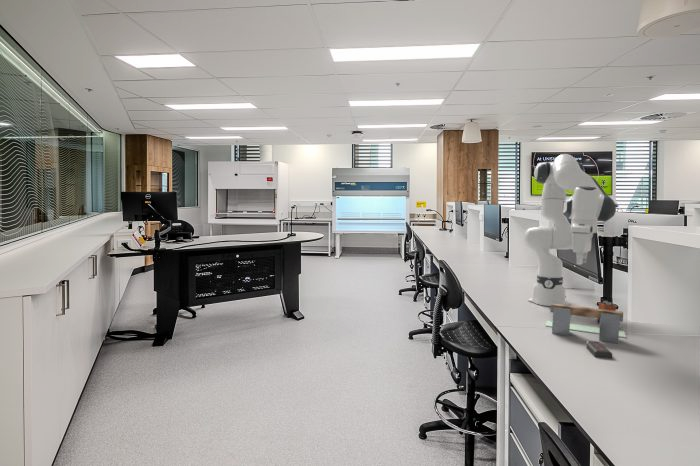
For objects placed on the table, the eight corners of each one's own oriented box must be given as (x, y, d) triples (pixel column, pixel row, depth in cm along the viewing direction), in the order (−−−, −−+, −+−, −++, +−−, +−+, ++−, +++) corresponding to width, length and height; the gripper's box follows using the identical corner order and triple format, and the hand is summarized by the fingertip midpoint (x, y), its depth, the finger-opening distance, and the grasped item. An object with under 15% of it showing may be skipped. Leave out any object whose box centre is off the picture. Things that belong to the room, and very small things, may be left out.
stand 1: (552, 329, 169) (554, 303, 168) (569, 331, 166) (571, 305, 165) (551, 333, 164) (553, 307, 163) (569, 335, 161) (570, 309, 160)
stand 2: (598, 336, 161) (600, 309, 160) (617, 338, 158) (618, 311, 157) (599, 340, 156) (600, 313, 155) (618, 343, 153) (619, 315, 152)
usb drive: (595, 358, 139) (595, 350, 139) (583, 346, 151) (583, 338, 150) (612, 359, 138) (612, 351, 138) (599, 347, 149) (599, 340, 149)
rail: (550, 312, 165) (550, 304, 165) (550, 310, 168) (551, 302, 167) (622, 321, 153) (623, 313, 153) (622, 319, 156) (622, 311, 155)
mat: (547, 321, 180) (547, 320, 180) (624, 332, 166) (624, 331, 166) (545, 326, 173) (545, 325, 173) (625, 337, 159) (625, 336, 159)
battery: (603, 326, 173) (604, 303, 172) (597, 322, 180) (598, 299, 179) (614, 327, 172) (616, 304, 171) (608, 323, 179) (609, 300, 178)
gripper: (578, 227, 170) (576, 261, 171) (569, 227, 154) (567, 264, 155) (596, 228, 167) (594, 262, 167) (589, 228, 150) (586, 266, 151)
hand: (581, 263), depth 161 cm, fingers open, 8 cm apart
